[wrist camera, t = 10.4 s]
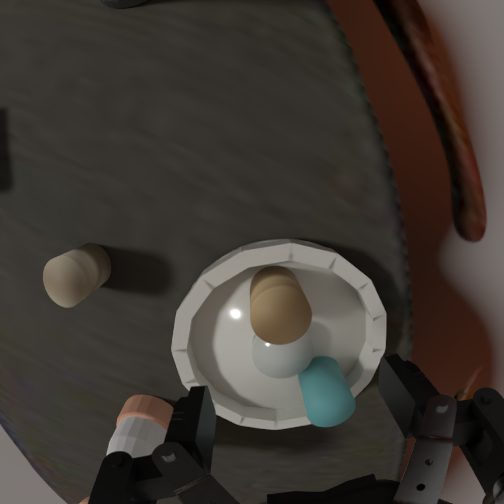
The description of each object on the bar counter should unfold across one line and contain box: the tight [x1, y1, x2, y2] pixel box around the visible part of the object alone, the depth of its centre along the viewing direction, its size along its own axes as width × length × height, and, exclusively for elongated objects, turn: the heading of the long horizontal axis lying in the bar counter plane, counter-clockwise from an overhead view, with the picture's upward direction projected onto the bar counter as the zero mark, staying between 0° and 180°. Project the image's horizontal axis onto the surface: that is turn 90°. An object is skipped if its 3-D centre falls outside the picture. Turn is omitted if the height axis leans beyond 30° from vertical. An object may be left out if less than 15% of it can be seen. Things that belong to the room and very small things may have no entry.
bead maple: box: [43, 243, 111, 307], centre depth 25 cm, size 4×4×6 cm
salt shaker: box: [79, 394, 174, 504], centre depth 22 cm, size 7×7×19 cm
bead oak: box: [250, 265, 312, 345], centre depth 24 cm, size 4×4×6 cm
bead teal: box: [298, 356, 356, 427], centre depth 26 cm, size 4×4×6 cm
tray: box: [171, 238, 386, 430], centre depth 28 cm, size 20×20×3 cm
